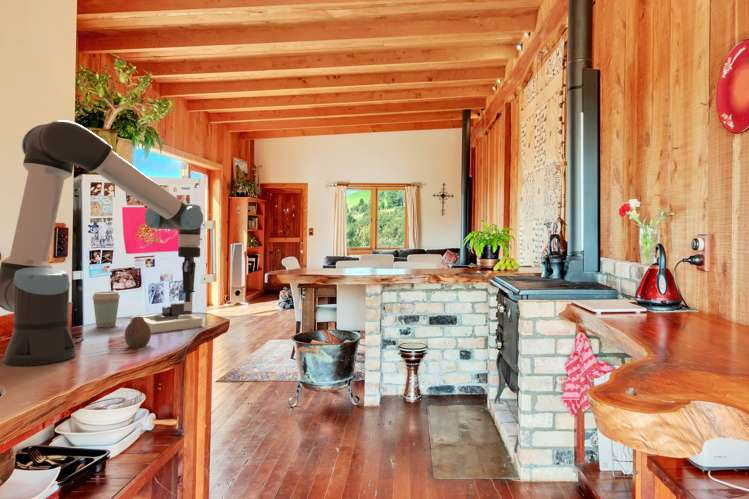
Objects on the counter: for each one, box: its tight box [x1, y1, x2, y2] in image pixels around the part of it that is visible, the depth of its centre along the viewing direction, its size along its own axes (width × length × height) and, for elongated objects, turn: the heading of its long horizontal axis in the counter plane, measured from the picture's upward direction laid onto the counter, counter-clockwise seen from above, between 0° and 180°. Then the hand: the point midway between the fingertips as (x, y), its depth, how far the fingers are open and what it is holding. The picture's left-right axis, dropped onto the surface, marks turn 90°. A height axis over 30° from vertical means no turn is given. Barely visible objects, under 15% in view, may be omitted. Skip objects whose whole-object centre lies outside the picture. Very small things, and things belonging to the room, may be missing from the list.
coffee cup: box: [91, 291, 121, 328], centre depth 164 cm, size 8×8×12 cm
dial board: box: [129, 313, 203, 334], centre depth 168 cm, size 18×18×3 cm
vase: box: [124, 316, 152, 349], centre depth 137 cm, size 7×7×9 cm
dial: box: [154, 302, 193, 322], centre depth 169 cm, size 12×8×6 cm, turn 124°
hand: (188, 310), depth 170 cm, fingers closed
